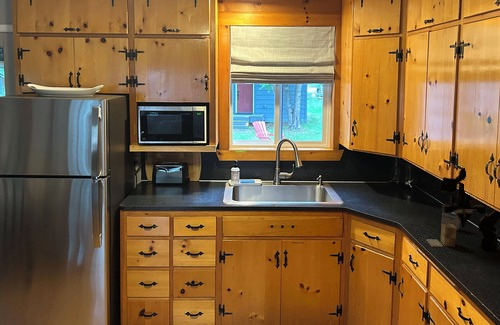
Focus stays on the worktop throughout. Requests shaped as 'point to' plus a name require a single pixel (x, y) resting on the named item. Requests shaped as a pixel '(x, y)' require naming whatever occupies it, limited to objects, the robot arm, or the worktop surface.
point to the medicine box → (450, 219)
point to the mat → (434, 243)
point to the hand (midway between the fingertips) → (462, 226)
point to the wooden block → (448, 234)
